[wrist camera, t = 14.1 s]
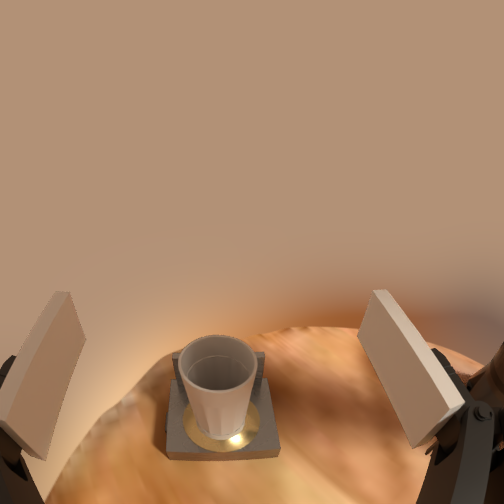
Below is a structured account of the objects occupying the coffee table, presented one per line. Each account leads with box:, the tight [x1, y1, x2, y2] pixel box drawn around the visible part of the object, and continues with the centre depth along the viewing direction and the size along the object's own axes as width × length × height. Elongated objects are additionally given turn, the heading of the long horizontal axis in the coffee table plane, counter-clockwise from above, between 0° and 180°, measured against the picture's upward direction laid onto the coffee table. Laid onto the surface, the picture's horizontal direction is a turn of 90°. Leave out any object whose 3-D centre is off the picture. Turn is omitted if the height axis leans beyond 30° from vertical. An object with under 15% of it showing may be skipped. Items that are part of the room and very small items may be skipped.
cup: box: [178, 335, 258, 440], centre depth 31 cm, size 8×8×12 cm
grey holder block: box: [165, 352, 281, 461], centre depth 34 cm, size 14×12×9 cm
